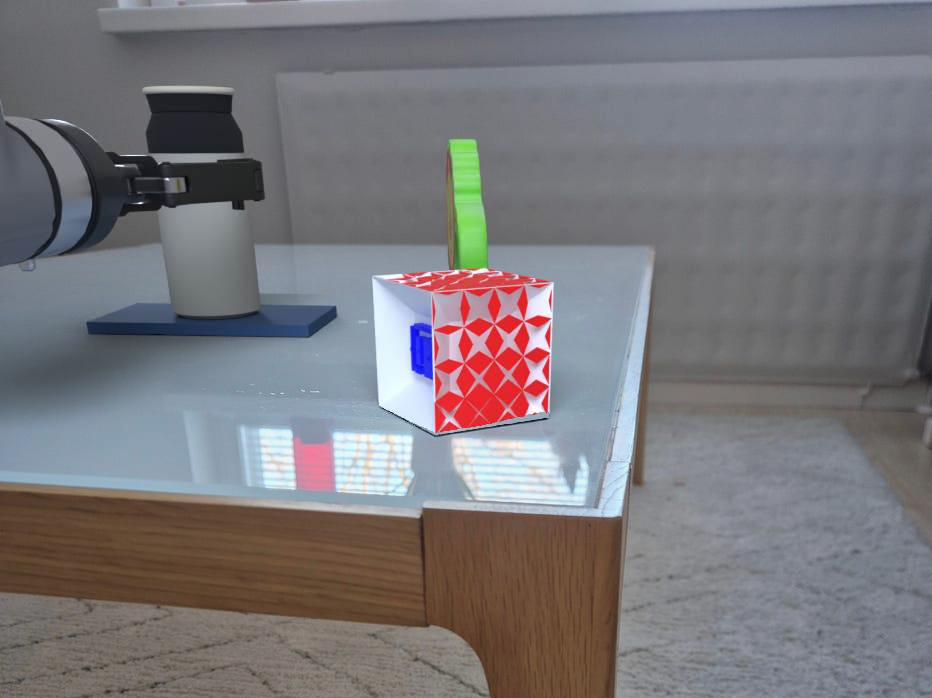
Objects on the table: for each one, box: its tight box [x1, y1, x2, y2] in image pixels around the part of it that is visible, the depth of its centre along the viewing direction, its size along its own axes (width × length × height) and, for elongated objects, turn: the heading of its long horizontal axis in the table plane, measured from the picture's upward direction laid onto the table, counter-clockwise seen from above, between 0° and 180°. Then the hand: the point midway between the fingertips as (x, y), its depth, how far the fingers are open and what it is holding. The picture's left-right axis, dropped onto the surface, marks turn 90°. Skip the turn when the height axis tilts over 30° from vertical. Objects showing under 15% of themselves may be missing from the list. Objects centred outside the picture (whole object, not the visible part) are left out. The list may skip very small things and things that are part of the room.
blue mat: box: [85, 302, 338, 338], centre depth 87 cm, size 20×11×1 cm, turn 85°
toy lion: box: [445, 138, 489, 271], centre depth 75 cm, size 16×5×15 cm, turn 5°
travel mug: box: [141, 85, 262, 319], centre depth 83 cm, size 8×8×18 cm
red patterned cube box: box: [371, 267, 555, 433], centre depth 57 cm, size 8×8×8 cm
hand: (168, 177), depth 76 cm, fingers open, 13 cm apart
